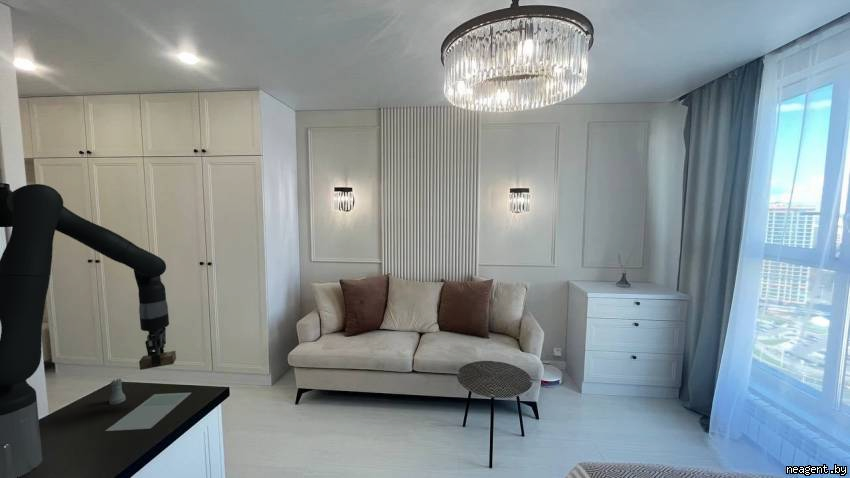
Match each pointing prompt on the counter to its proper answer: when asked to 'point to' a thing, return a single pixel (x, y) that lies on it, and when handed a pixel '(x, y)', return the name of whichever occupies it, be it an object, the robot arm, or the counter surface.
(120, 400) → the rook chess piece
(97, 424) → the counter surface
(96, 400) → the counter surface
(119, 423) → the grey mat
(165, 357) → the brown rectangular block
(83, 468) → the counter surface
